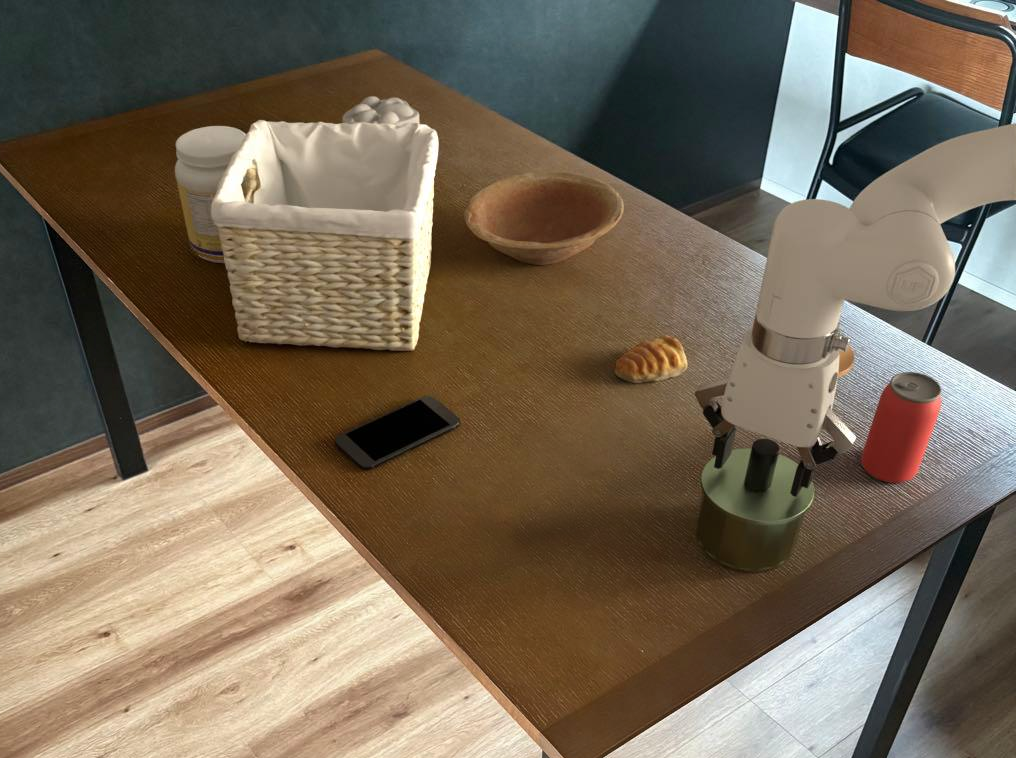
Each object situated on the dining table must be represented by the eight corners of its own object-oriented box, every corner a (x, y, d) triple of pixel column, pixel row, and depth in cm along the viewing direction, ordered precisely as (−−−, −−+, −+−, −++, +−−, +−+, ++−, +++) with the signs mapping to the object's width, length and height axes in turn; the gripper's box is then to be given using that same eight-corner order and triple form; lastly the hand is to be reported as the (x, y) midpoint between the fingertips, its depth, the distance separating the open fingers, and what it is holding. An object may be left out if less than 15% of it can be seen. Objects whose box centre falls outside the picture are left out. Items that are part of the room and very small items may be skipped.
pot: (807, 527, 122) (822, 476, 116) (773, 586, 115) (787, 535, 110) (718, 493, 126) (728, 443, 121) (680, 549, 119) (689, 498, 114)
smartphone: (464, 425, 135) (464, 419, 134) (364, 474, 128) (364, 468, 128) (429, 397, 139) (429, 392, 139) (331, 443, 133) (330, 437, 132)
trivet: (863, 348, 147) (865, 343, 146) (837, 389, 140) (839, 384, 140) (786, 325, 151) (787, 320, 151) (757, 364, 144) (758, 359, 144)
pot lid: (827, 479, 117) (840, 434, 113) (789, 544, 110) (801, 499, 106) (725, 443, 122) (734, 399, 117) (682, 504, 114) (690, 459, 110)
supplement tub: (212, 222, 173) (192, 118, 161) (282, 232, 171) (267, 127, 159) (176, 260, 165) (153, 153, 153) (250, 271, 162) (232, 163, 151)
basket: (445, 258, 165) (441, 117, 150) (428, 359, 146) (422, 209, 130) (270, 253, 166) (249, 113, 151) (231, 352, 147) (202, 203, 132)
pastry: (632, 394, 140) (635, 369, 137) (603, 368, 144) (605, 344, 141) (690, 373, 143) (694, 348, 140) (660, 348, 147) (663, 324, 145)
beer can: (862, 445, 132) (887, 364, 124) (918, 456, 130) (948, 375, 122) (857, 478, 128) (883, 396, 119) (915, 491, 126) (945, 408, 118)
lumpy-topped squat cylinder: (426, 157, 190) (424, 108, 184) (358, 173, 186) (354, 123, 180) (402, 135, 197) (399, 87, 191) (335, 149, 192) (331, 101, 186)
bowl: (496, 203, 177) (497, 157, 172) (636, 229, 171) (641, 181, 166) (441, 273, 162) (440, 224, 156) (593, 303, 155) (597, 253, 150)
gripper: (896, 341, 101) (851, 483, 113) (721, 290, 107) (697, 429, 120) (872, 382, 96) (828, 525, 108) (691, 325, 103) (669, 466, 115)
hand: (759, 474), depth 114 cm, fingers open, 7 cm apart
